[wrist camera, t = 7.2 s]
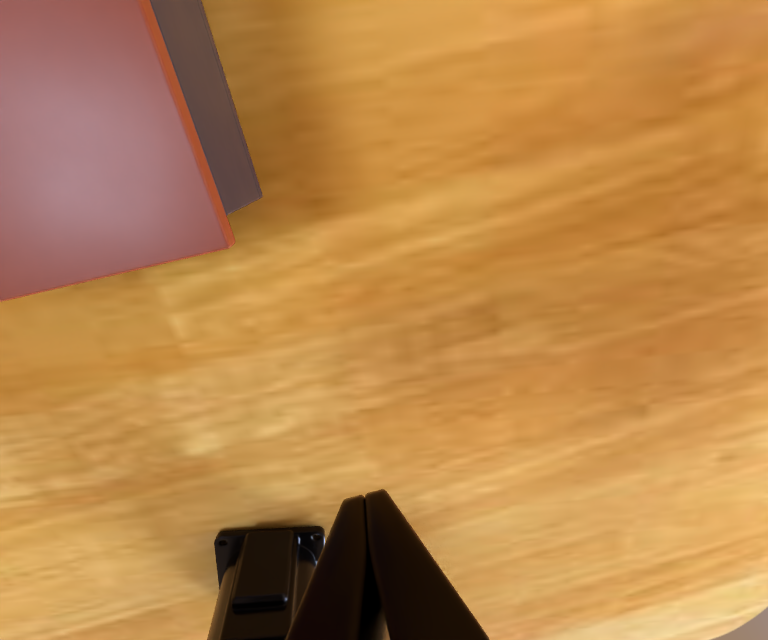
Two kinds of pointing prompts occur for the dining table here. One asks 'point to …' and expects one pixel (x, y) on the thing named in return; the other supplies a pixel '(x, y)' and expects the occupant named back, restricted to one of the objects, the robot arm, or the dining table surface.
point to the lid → (95, 148)
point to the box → (208, 100)
